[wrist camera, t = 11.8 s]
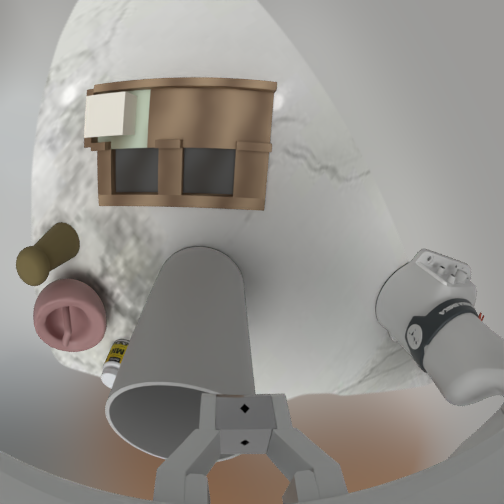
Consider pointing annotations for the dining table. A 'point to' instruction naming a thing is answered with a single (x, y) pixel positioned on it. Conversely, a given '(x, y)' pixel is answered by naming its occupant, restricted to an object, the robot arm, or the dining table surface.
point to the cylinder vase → (182, 352)
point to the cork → (47, 254)
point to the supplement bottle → (113, 362)
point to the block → (110, 114)
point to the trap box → (188, 144)
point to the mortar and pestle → (69, 316)
